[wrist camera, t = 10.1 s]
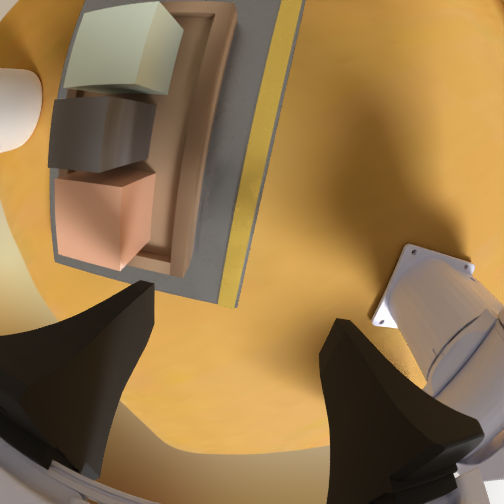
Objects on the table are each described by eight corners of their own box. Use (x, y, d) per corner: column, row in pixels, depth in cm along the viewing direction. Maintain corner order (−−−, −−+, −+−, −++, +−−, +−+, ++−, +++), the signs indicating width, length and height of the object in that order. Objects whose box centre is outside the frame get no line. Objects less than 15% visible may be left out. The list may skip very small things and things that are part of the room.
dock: (301, 11, 13) (306, -5, 11) (239, 289, 22) (236, 309, 19) (101, 7, 12) (84, -2, 10) (70, 250, 21) (53, 262, 19)
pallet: (239, 22, 12) (224, -39, 5) (193, 257, 18) (160, 322, 12) (110, 24, 11) (48, -7, 5) (82, 233, 18) (22, 276, 11)
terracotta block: (155, 172, 14) (122, 187, 10) (150, 239, 16) (120, 271, 12) (96, 165, 14) (54, 178, 10) (95, 228, 15) (58, 254, 12)
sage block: (183, 30, 11) (158, 1, 7) (167, 95, 12) (135, 83, 8) (120, 32, 10) (84, 13, 7) (105, 93, 12) (63, 88, 8)
